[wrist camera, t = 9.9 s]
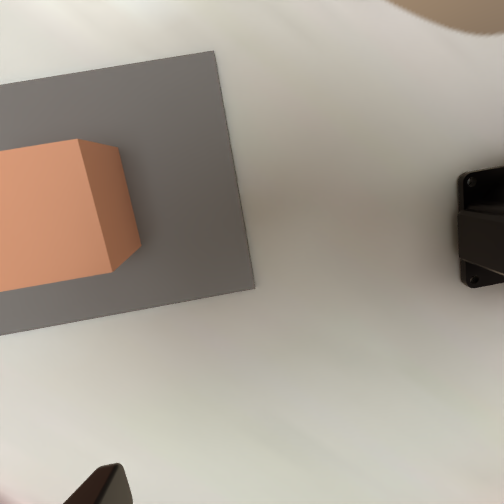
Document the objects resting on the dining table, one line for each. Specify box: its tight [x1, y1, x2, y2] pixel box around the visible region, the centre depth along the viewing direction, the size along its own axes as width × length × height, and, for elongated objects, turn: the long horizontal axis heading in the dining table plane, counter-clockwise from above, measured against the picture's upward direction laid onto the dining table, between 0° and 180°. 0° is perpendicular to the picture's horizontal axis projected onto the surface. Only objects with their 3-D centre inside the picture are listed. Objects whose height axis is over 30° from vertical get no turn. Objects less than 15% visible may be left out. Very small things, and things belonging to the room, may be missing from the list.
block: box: [0, 139, 142, 292], centre depth 16 cm, size 5×5×5 cm
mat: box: [0, 51, 255, 336], centre depth 18 cm, size 16×12×1 cm
